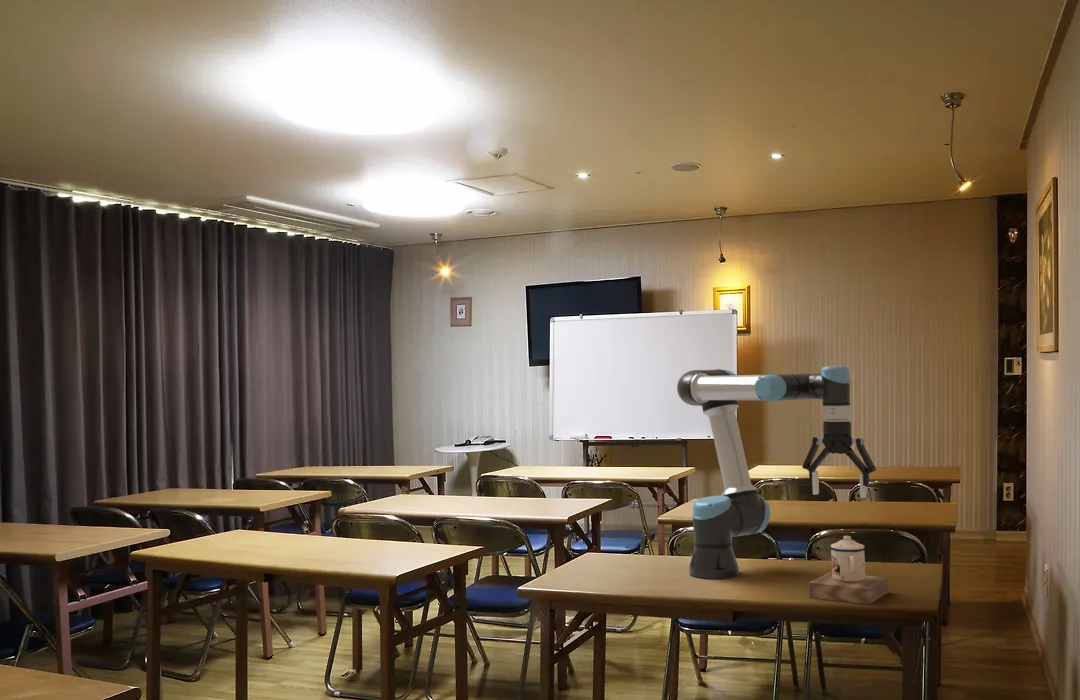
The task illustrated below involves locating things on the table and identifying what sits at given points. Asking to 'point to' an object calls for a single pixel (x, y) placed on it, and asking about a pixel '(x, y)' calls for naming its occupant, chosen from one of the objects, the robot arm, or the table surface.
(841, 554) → the teacup with lid
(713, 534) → the robot arm
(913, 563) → the table surface
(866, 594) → the wooden square block
